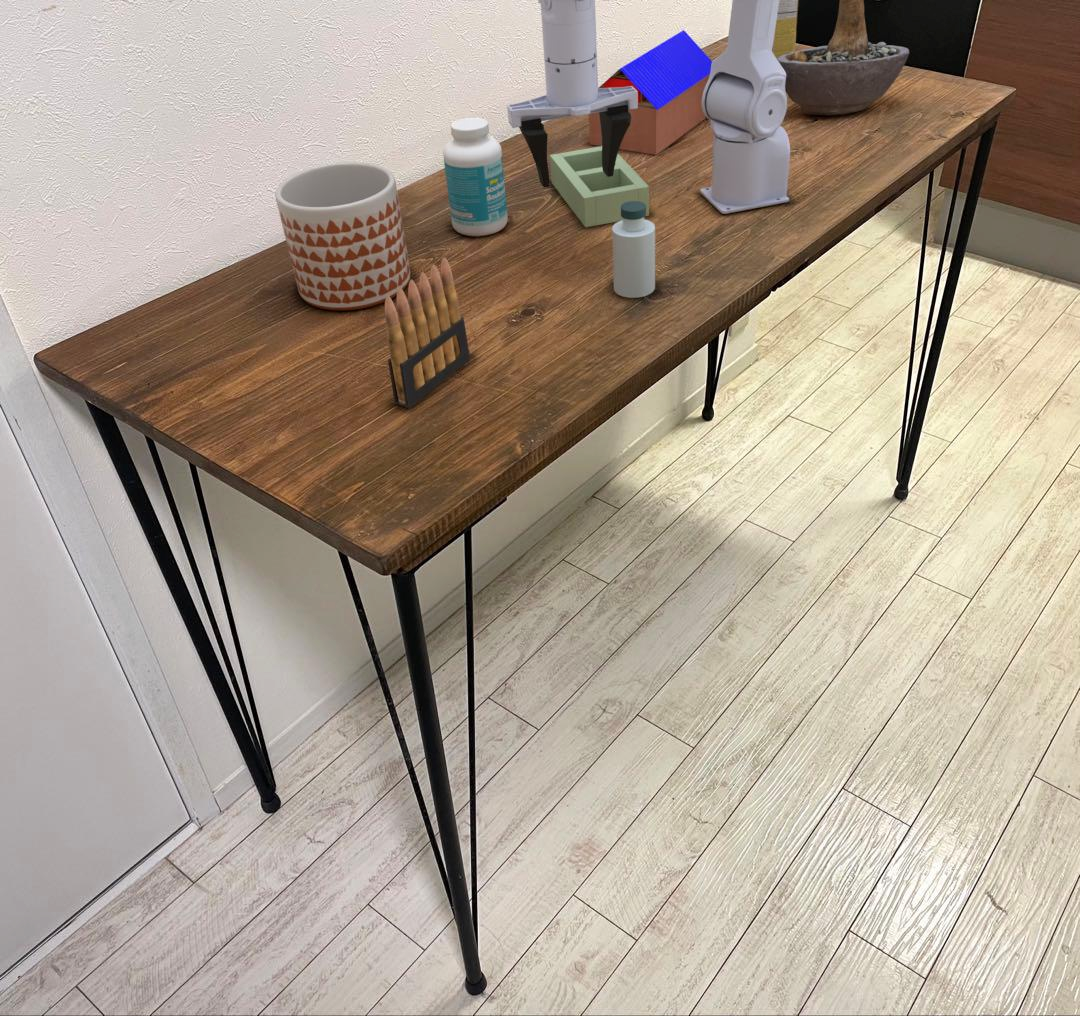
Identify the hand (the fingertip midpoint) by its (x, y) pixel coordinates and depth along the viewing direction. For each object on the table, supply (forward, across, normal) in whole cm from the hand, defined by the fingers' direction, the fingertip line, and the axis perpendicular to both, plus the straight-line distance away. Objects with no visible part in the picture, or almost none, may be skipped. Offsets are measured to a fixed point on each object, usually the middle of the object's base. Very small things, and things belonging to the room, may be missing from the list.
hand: (576, 178), depth 119 cm
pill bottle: (+10, -10, +14) cm, 20 cm away
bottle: (+10, +4, -9) cm, 14 cm away
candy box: (+10, +52, +60) cm, 80 cm away
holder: (+10, +7, +17) cm, 21 cm away
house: (+10, +22, +39) cm, 46 cm away
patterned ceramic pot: (+10, -27, +4) cm, 30 cm away
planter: (+10, +51, +34) cm, 62 cm away
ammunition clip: (+10, -22, -21) cm, 32 cm away
